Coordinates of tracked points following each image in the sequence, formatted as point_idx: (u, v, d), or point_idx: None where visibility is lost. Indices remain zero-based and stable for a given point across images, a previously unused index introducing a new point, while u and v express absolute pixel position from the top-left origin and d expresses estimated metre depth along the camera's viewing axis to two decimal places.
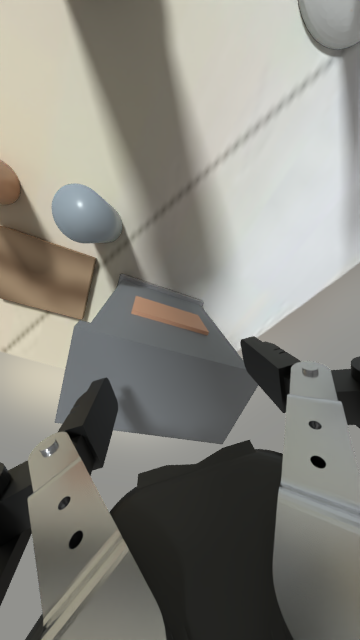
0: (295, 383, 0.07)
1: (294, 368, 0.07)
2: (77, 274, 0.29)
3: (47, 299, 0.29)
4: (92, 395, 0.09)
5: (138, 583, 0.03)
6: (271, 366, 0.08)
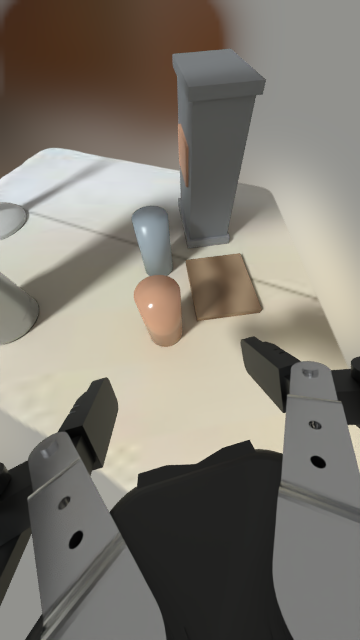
0: (295, 383, 0.07)
1: (294, 368, 0.07)
2: (204, 265, 0.34)
3: (238, 277, 0.33)
4: (92, 395, 0.09)
5: (138, 583, 0.03)
6: (271, 366, 0.08)
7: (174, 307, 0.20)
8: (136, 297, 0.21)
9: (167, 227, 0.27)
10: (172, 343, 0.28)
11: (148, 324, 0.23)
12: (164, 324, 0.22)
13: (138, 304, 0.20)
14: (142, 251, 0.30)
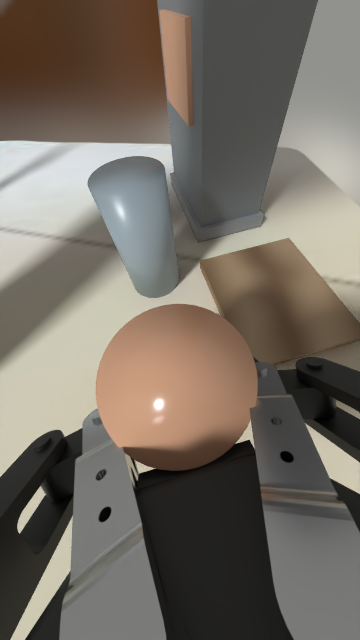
0: None
1: None
2: (234, 265, 0.20)
3: (300, 277, 0.18)
4: None
5: (138, 583, 0.03)
6: None
7: (245, 424, 0.05)
8: (105, 398, 0.06)
9: (166, 195, 0.13)
10: None
11: None
12: None
13: (113, 430, 0.05)
14: (122, 253, 0.15)
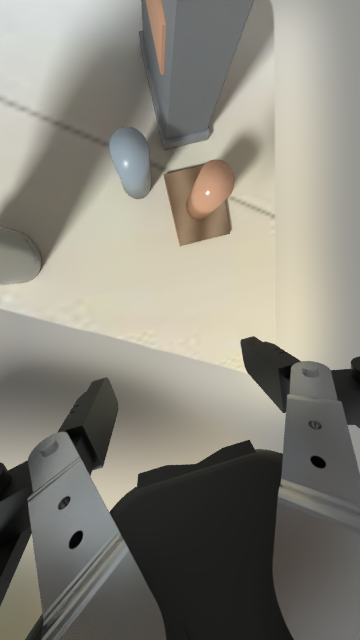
0: (295, 383, 0.07)
1: (294, 368, 0.07)
2: (183, 182, 0.34)
3: None
4: (92, 395, 0.09)
5: (138, 583, 0.03)
6: (271, 366, 0.08)
7: (228, 196, 0.27)
8: (201, 186, 0.26)
9: (149, 160, 0.26)
10: None
11: (201, 206, 0.30)
12: (214, 207, 0.29)
13: (203, 193, 0.26)
14: (123, 181, 0.30)
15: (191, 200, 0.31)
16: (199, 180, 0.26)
